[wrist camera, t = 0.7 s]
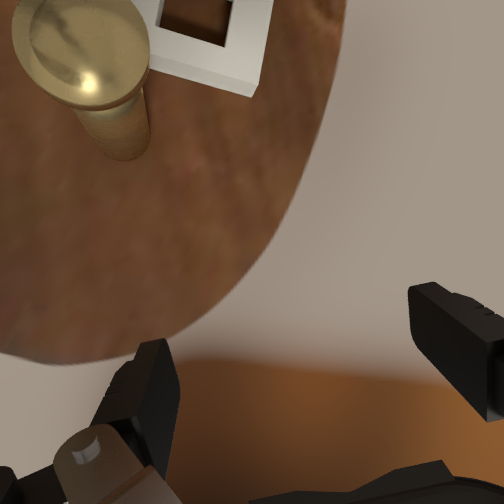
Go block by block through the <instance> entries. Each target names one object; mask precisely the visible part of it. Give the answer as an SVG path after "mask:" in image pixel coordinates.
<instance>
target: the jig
mask: <svg viewBox="0 0 504 504" xmlns="http://www.w3.org/2000/svg"><path fill="white" fill-rule="evenodd" d="M131 1H132V2H133V4H134V5H135V6H136V8H137V9H138V10H139V12H140V14H141V16H142V17H143V20H144V22H145V24H146V27H147V31H148V35H149V42H150V52H151V63H150V69H153V70H157V71H160V72H164V73H167V74H171V75H174V76H178V77H181V78H185V79H188V80H192V81H195V82H199V83H202V84H206V85H209V86H213V87H216V88H220V89H223V90H227V91H230V92H234V93H237V94H241V95H244V96H248V97H251V98H252V96H253V94H254V92H255V90H256V88H257V86H258V83H259V77H260V72H261V66H262V61H263V55H264V50H265V45H266V39H267V34H268V28H269V23H270V17H271V12H272V6H273V1H274V0H228V1H231V2H232V7H231V12H230V18H229V23H228V28H227V34H226V39H225V44H224V47H221V46H218V45H215V44H211V43H208V42H205V41H202V40H198V39H195V38H192V37H189V36H186V35H182V34H179V33H176V32H173V31H170V30H166V29H163V28H160V27H159V26H160V21H161V16H162V11H163V6H164V0H131Z"/></svg>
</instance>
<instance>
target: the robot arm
mask: <svg viewBox="0 0 504 504" xmlns="http://www.w3.org/2000/svg"><path fill="white" fill-rule="evenodd" d="M408 303H409V304H408V305H409V318H410V330H411V335H412V338H413V340H414V342H415V345H416V346H417V348H418V349H419V350H420V351H421V352H422V353H423V354H424V355H425V356H426V357H427V359H428V360H429V361H430V362H431V363H432V364H433V365H434V366H435V367H436V368H437V369H438V370H439V372H440V373H441V374H442V375H443V376H444V377H445V378H446V379H447V380H448V381H449V382H450V383H451V384H452V386H453V387H454V388H455V389H456V390H457V391H458V392H459V393H460V394H461V395H462V396H463V397H464V398H465V399H466V400H467V401H468V403H469V404H470V405H471V406H472V407H473V408H474V409H475V410H476V411H477V412H478V413H479V414H480V415H481V417H482V418H483V419H484V420H485V421H486V422H492V421H496V420H501V419H504V318H503V317H501V316H500V315H498V314H495V313H494V312H493V311H492V310H490V309H488V308H487V307H484V305H482V304H481V303H479V302H477V301H476V300H474V299H473V298H470V297H467V296H464V295H461V294H458V293H451V292H449V291H448V290H446V289H445V288H443V287H442V286H440V285H439V284H437V283H436V282H429V283H424V284H419V285H415V286H410V287H409V289H408ZM179 402H180V383H179V379H178V375H177V372H176V369H175V365H174V362H173V359H172V356H171V352H170V349H169V346H168V343H167V341H166V339H165V338H162V339H157V340H152V341H148V342H143V343H141V344H140V346H139V348H138V350H137V352H136V355H135V357H134V360H132V361H127V362H126V363H125V364H124V365H123V366H122V367H121V368H120V369H119V370H118V371H117V372H116V373H115V375H114V377H113V379H112V381H111V383H110V387H108V389H107V391H106V393H105V397H103V399H102V401H101V403H100V405H99V407H98V409H97V412H96V414H95V416H94V418H93V420H92V422H91V424H90V426H89V427H88V428H85V429H83V430H81V431H79V432H78V433H76V434H75V435H73V436H72V437H70V438H69V439H68V440H67V441H66V442H65V443H64V444H63V445H62V446H61V447H60V448H59V450H58V451H57V453H56V455H55V457H54V460H53V464H52V465H50V466H48V467H45V468H43V469H41V470H39V471H37V472H34V473H32V474H30V475H28V476H25V477H24V478H21V479H19V480H18V479H17V478H16V476H15V474H14V472H13V470H12V469H11V468H10V467H7V466H0V504H182V503H181V501H180V500H179V499H178V498H177V496H176V495H175V494H174V493H173V491H172V490H171V489H170V488H169V486H168V485H167V484H166V483H165V478H166V473H167V467H168V463H169V457H170V452H171V446H172V440H173V435H174V430H175V424H176V419H177V413H178V408H179ZM249 504H504V487H501V486H499V485H496V484H492V483H489V482H486V481H481V480H478V479H473V478H466V477H458V476H453V475H452V474H451V473H450V471H449V470H448V468H447V467H446V465H445V464H444V462H443V461H442V460H437V461H433V462H428V463H423V464H419V465H414V466H410V467H405V468H400V469H395V470H393V471H391V472H389V473H387V474H385V475H383V476H381V477H379V478H377V479H375V480H373V481H372V482H369V483H368V484H366V485H364V486H362V487H360V488H358V489H356V490H354V491H351V492H316V491H293V492H289V493H284V494H279V495H274V496H270V497H265V498H260V499H256V500H251V501H249Z"/></svg>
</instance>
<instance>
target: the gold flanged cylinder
mask: <svg viewBox="0 0 504 504" xmlns="http://www.w3.org/2000/svg"><path fill="white" fill-rule="evenodd" d="M12 40H13V45H14V48H15V52H16V54H17V57H18V59H19V61H20V63H21V64H22V66H23V67H24V69H25V70H26V72H27V73H28V74H29V75H30V77H31V78H32V79H33V80H34V82H35V83H36V84H37V85H38V87H39V88H40V89H42V90H43V91H44V92H45V93H46V94H47V95H48V96H50V97H51V98H52V99H54V100H56V101H57V102H59V103H61V104H63V105H66V106H68V107H71V108H72V110H73V111H74V113H75V114H76V115H77V117H78V118H79V120H80V121H81V123H82V124H83V125H84V127H85V128H86V130H87V131H88V133H89V134H90V135H91V137H92V138H93V140H94V141H95V143H96V144H97V146H98V147H99V148H100V150H101V151H102V152H103V153H104V154H105V155H107V156H108V157H110V158H112V159H114V160H118V161H131V160H134V159H137V158H138V157H140V156H141V155H142V154H143V153H144V152H145V151H146V150H147V148H148V146H149V143H150V130H149V124H148V118H147V112H146V107H145V101H144V95H143V89H142V86H143V85H144V83H145V81H146V79H147V76H148V73H149V69H150V63H151V52H150V42H149V35H148V31H147V27H146V24H145V22H144V20H143V17H142V16H141V14H140V12H139V10H138V9H137V8H136V6H135V5H134V4H133V2H132V1H131V0H20V1H19V3H18V5H17V7H16V9H15V12H14V16H13V21H12Z"/></svg>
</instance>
